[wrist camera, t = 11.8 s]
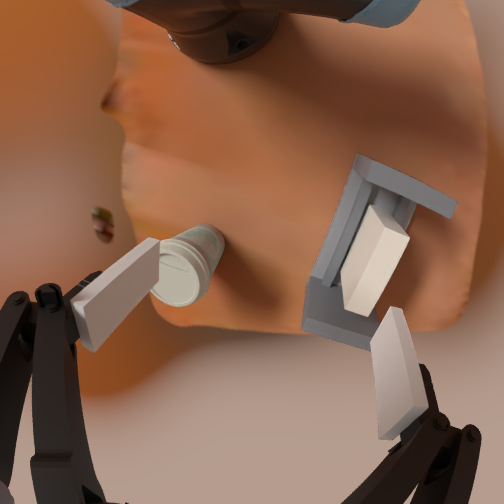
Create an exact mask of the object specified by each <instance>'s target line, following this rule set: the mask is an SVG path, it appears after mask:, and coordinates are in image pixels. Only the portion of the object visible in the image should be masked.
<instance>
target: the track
mask: <svg viewBox="0 0 504 504" xmlns="http://www.w3.org/2000/svg"><path fill="white" fill-rule="evenodd" d="M368 203H370V204H372V205H375V206H377V207H379V208H382V209H384V210H386V211H388V212H389V213H390V214H391V215H392V216H393V217H394V219H395V220H396V221H397V222H398V224H399V225H400V226H401V227H402V228H403V230H404V231H405V232H406V229H407V227H408V225H409V223H410V220H411V218H412V216H413V213H414V211H415V208H416V206H417V204H418V203H419V204H421V205H423V206H425V207H427V208H429V209H431V210H433V211H435V212H437V213H439V214H441V215H443V216H445V217H447V218H448V219H450V220H451V217H452V215H453V213H454V210H455V208H456V205H457V203H458V202H457V201H456V200H454V199H452V198H451V197H449V196H447V195H445V194H443V193H442V192H440V191H438V190H436V189H434V188H433V187H431V186H429V185H427V184H425V183H423V182H421V181H419V180H417V179H415V178H413V177H411V176H409V175H407V174H405V173H402V172H400V171H398V170H396V169H394V168H391V167H389V166H387V165H385V164H382V163H380V162H378V161H375V160H373V159H371V158H368V157H366V156H363V155H361V154H358V153H357V154H356V156H355V159H354V162H353V165H352V168H351V171H350V174H349V177H348V179H347V182H346V185H345V188H344V190H343V193H342V196H341V198H340V201H339V204H338V206H337V209H336V212H335V214H334V217H333V220H332V222H331V225H330V227H329V230H328V232H327V235H326V237H325V240H324V242H323V245H322V247H321V250H320V252H319V255H318V257H317V259H316V262H315V264H314V267H313V269H312V271H311V274H310V276H309V278H308V281H307V283H306V291H305V299H304V308H303V316H302V324H301V330H303V331H306V332H309V333H312V334H315V335H318V336H321V337H325V338H328V339H331V340H334V341H338V342H341V343H344V344H347V345H351V346H354V347H358V348H361V349H365V350H369V351H371V346H370V341H371V339H372V338H373V336H374V334H375V333H376V331H377V329H378V327H379V326H380V325H379V321H378V316H377V312H376V308H375V306H374V308H373V309H372V311H371V313H370V314H369V316H368V317H366V316H363V315H360V314H357V313H354V312H351V311H348V310H345V309H344V300H343V291H342V282H341V273H340V267H341V265H342V263H343V261H344V259H345V256H346V254H347V252H348V250H349V248H350V245H351V243H352V241H353V238H354V236H355V234H356V231H357V229H358V227H359V224H360V222H361V220H362V217H363V215H364V212H365V210H366V207H367V205H368Z"/></svg>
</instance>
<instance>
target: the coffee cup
mask: <svg viewBox="0 0 504 504" xmlns="http://www.w3.org/2000/svg"><path fill="white" fill-rule="evenodd" d="M224 248H225V241H224V238H223V235H222V234H221V232H220V231H219V230H218V229H217V228H216V227H214V226H212V225H209V224H200V225H197V226H195V227H193V228H191V229H189V230H187V231H185V232H183V233H181V234H179V235H177V236H175V237H173V238H171V239H165V240H162V241H160V256H159V281H158V282H157V283H156V284H155V285H154V287H153V288H152V289H151V290H150V291H151V292H152V293H153V294H154V295H155V296H156V297H157V298H158V299H159V300H161V301H162V302H164V303H166V304H168V305H171V306H176V307H183V306H187V305H189V304H192V303H194V302H196V301H198V300H199V299H201V298H202V297H203V296H204V295H205V294H206V292H207V291H208V288H209V285H210V279H211V277H212V275H213V273H214V270H215V268H216V266H217V264H218V262H219V260H220V258H221V256H222V253H223V251H224Z"/></svg>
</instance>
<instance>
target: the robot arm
mask: <svg viewBox="0 0 504 504" xmlns="http://www.w3.org/2000/svg"><path fill="white" fill-rule="evenodd" d="M106 1H108V2H109V3H110V4H111V5H113V6H115V7H118V8H119V7H120V8H123V9H126V10H128V11H130V12H132V13H135V14H137V15H139V16H141V17H143V18H145V19H147V20H149V21H151V22H153V23H155V24H157V25H159V26H161V27H163V28H165V29H166V30H167V31H168V34H169V37H170V39H171V41H172V42H173V44H174V45H175V46H176V47H177V49H179V50H180V51H181V52H182V53H184V54H185V55H187V56H189V57H191V58H193V59H195V60H197V61H200V62H204V63H209V64H225V63H231V62H235V61H238V60H241V59H243V58H246V57H248V56H250V55H252V54H253V53H255V52H256V51H258V50H259V49H260V48H262V47H263V46H264V45H265V44H266V43H267V42H268V41H269V39H270V38H271V37H272V35H273V34H274V32H275V30H276V28H277V25H278V21H279V12H283V13H295V14H304V15H312V16H319V17H326V18H332V19H338V21H339V22H343V23H352V22H354V23H360V24H365V25H370V26H374V27H379V28H389V27H392V26H394V25H398V24H400V23H402V22H403V21H404V20H405V19H407V18H408V17H409V16H410V15H411V13H412V12H413V11H414V10H415V8H416V7H417V5H418V4H419V2H420V0H106ZM159 256H160V240H157V239H154V238H151V237H148V238H147V239H145V240H144V241H143V242H141V243H140V244H139V245H137V246H136V247H135V248H133V249H132V250H131V251H130V252H128V253H127V254H126V255H125V256H123V257H122V258H121V259H120V260H118V261H117V262H116V263H115V264H113V265H112V266H111V267H109V268H108V269H107V270H106V271H105V272H102V271H97V272H94V273H92V274H90V275H89V276H87V277H86V278H85V279H84V280H83V281H81V282H80V283H79V284H78V285H76V286H75V287H74V288H72V289H71V290H70V291H69V292H68V293H67V294H65V295H64V296H62V292H61V288H60V287H59V286H58V285H57V284H54V283H47V284H43V285H42V286H40V287H39V288H37V289H36V291H35V297H36V300H37V303H36V302H31V301H30V299H29V295H28V294H27V293H26V292H24V291H18V292H14V293H12V294H11V295H10V296H9V297H8V298H7V300H6V301H5V303H4V305H3V307H2V309H1V310H0V504H14V498H13V496H12V495H11V493H10V491H9V489H8V486H9V484H10V480H11V476H12V470H13V464H14V455H15V448H16V441H17V435H18V430H19V424H20V419H21V414H22V410H23V405H24V401H25V397H26V393H27V389H28V386H29V382H30V378H31V375H32V417H33V434H34V445H35V455H34V456H32V457H31V460H30V467H31V474H32V480H33V485H34V491H35V496H36V500H37V504H118V503H108V502H106V499H105V496H104V493H103V490H102V488H101V486H100V484H99V481H98V480H97V477H96V474H95V471H94V467H93V463H92V459H91V455H90V451H89V446H88V441H87V435H86V430H85V425H84V419H83V412H82V405H81V397H80V389H79V378H78V366H77V350H76V349H77V348H76V344H75V342H76V341H77V340H78V339H79V338H80V340H81V344H82V346H83V347H85V348H87V349H88V350H90V351H92V352H95V351H96V350H97V349H98V348H99V347H100V346H101V344H102V343H103V342H104V341H105V340H106V338H108V336H109V335H110V334H111V333H112V332H113V331H114V330H115V328H116V327H117V326H118V325H119V324H120V323H121V322H122V321H123V319H124V318H125V317H126V316H127V315H128V314H129V313H130V312H131V311H132V309H133V308H134V307H135V306H136V305H137V304H138V303H139V302H140V301H141V299H142V298H143V297H144V296H145V295H146V294H147V293H148V292H149V291H150V290H151V289H152V288H153V287H154V285H155V284H156V283H157V282H158V281H159ZM370 346H371V354H372V361H373V370H374V380H375V390H376V402H377V416H378V438H379V439H381V440H394V439H395V438H396V437H397V436H398V435H399V434H400V438H401V441H400V442H399V443H397V444H396V445H395V446H394V447H392V448H391V449H390V450H389V451H388V452H390V453H389V454H388V455H387V456H386V458H385V459H384V460H383V461H382V462H381V463H380V464H379V466H378V467H377V468H376V469H375V470H374V471H373V472H372V473H371V474H370V476H369V477H368V478H367V479H366V480H365V481H364V482H363V483H362V484H361V485H360V486H359V487H358V488H357V489H356V490H355V491H354V492H353V493H352V494H351V495H350V496H348V497H347V498H346V499H345V500H344V501H343V502H342V503H341V504H403V503H404V502H405V500H406V499H407V498H408V497H409V495H410V494H411V493H412V491H413V490H414V488H415V487H416V486H417V484H418V483H419V484H418V486H417V488H416V491H415V493H414V496H413V498H412V500H411V502H410V504H468V502H469V499H470V495H471V491H472V487H473V483H474V479H475V474H476V470H477V465H478V459H479V453H480V447H481V433H480V431H479V429H478V428H477V427H476V426H474V425H472V424H469V425H466V426H465V427H464V428H463V429H462V430H461V429H458V428H455V427H453V426H450V421H449V419H448V418H447V417H446V415H445V414H443V413H441V412H439V409H438V404H437V400H436V396H435V392H434V389H433V384H432V382H431V381H432V380H431V376H430V373H429V371H428V369H427V368H426V366H425V365H424V364H419V363H418V360H417V356H416V353H415V349H414V345H413V342H412V339H411V335H410V332H409V329H408V326H407V323H406V319H405V316H404V313H403V310H402V309H401V308H397V307H393V306H390V308H389V309H388V311H387V313H386V315H385V317H384V319H383V320H382V322H381V324H380V326H379V327H378V329H377V331H376V333H375V334H374V336H373V338H372V339H371V341H370ZM125 504H128V503H125Z"/></svg>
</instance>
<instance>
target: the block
mask: <svg viewBox="0 0 504 504" xmlns="http://www.w3.org/2000/svg"><path fill="white" fill-rule="evenodd" d="M409 239H410V237H409V236H408V235H407V233H406V232H405V231H404V230H403V228H402V227H401V226H400V225H399V224H398V222H397V221H396V220H395V219H394V217H393V216H392V215H391V214H390V213H389V212H388V211H386V210H384V209H382V208H379V207H377V206H375V205H372V204H370V203H368V205H367V207H366V210H365V212H364V215H363V217H362V220H361V222H360V224H359V227H358V229H357V231H356V234H355V236H354V238H353V241H352V243H351V245H350V248H349V250H348V252H347V254H346V256H345V259H344V261H343V263H342V265H341V267H340V273H341V282H342V291H343V300H344V309H345V310H348V311H351V312H354V313H357V314H360V315H363V316H366V317H368V316H369V314H370V313H371V311H372V309H373V308H374V306H375V304H376V302H377V301H378V299H379V297H380V295H381V294H382V292H383V290H384V288H385V286H386V285H387V283H388V281H389V279H390V277H391V275H392V273H393V272H394V270H395V268H396V266H397V264H398V262H399V260H400V258H401V256H402V254H403V252H404V250H405V248H406V246H407V244H408V241H409Z"/></svg>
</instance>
